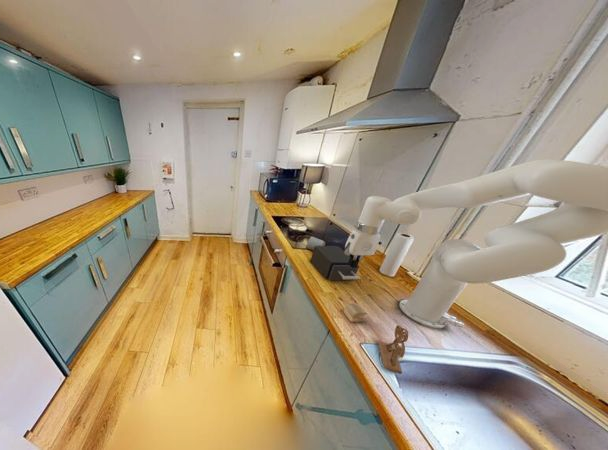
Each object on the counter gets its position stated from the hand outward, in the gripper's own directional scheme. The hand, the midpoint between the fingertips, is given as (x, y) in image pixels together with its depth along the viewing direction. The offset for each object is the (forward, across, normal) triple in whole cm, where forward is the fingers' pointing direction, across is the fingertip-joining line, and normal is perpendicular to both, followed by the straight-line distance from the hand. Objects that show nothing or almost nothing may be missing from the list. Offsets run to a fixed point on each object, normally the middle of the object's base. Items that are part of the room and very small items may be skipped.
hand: (351, 266), depth 85 cm
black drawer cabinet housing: (+11, 0, +11) cm, 16 cm away
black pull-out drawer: (+10, 0, +7) cm, 12 cm away
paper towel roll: (+11, +29, +9) cm, 32 cm away
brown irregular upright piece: (+11, -7, -32) cm, 34 cm away
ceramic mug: (+11, +3, +31) cm, 33 cm away
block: (+11, -8, -17) cm, 22 cm away
